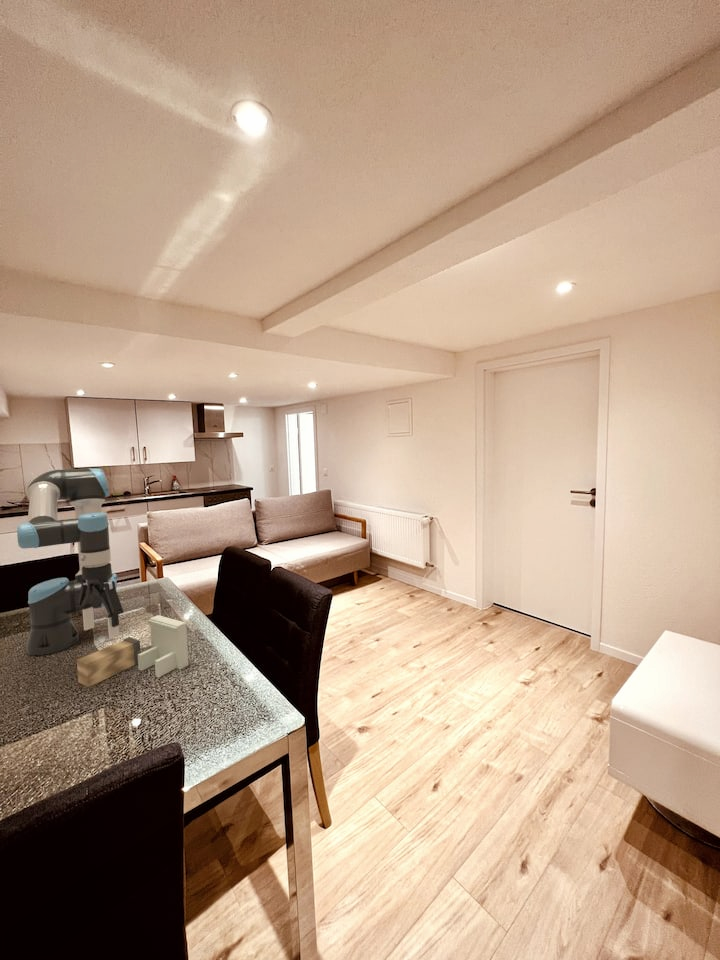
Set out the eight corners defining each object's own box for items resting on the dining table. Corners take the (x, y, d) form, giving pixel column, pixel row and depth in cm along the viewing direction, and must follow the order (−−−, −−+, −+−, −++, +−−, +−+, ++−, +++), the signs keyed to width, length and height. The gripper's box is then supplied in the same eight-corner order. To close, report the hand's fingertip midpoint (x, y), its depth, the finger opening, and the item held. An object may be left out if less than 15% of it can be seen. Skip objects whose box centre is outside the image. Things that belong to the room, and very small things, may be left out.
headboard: (134, 668, 128) (131, 625, 127) (160, 655, 136) (158, 615, 135) (162, 679, 121) (160, 634, 120) (188, 665, 129) (185, 622, 128)
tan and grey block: (88, 687, 118) (86, 663, 117) (78, 682, 121) (76, 659, 120) (141, 661, 132) (139, 640, 131) (130, 657, 135) (129, 637, 134)
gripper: (61, 563, 125) (66, 630, 126) (107, 572, 113) (112, 645, 114) (87, 557, 131) (92, 621, 133) (133, 565, 119) (138, 635, 121)
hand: (101, 632), depth 123 cm, fingers open, 13 cm apart
